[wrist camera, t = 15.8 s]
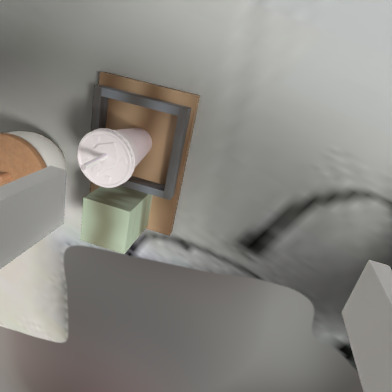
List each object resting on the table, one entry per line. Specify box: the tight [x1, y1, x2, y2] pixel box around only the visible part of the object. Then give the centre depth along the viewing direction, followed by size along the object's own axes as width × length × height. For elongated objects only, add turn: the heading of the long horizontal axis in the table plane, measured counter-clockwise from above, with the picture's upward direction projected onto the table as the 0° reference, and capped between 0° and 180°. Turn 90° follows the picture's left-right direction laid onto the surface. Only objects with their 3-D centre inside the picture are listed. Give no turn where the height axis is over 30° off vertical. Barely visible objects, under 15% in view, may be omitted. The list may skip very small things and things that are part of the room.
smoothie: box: [77, 128, 152, 188], centre depth 36 cm, size 6×6×14 cm
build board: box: [80, 72, 200, 254], centre depth 40 cm, size 13×20×9 cm, turn 168°
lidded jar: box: [0, 131, 66, 186], centre depth 44 cm, size 11×11×9 cm
